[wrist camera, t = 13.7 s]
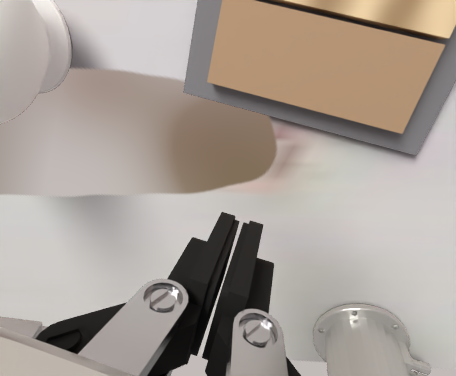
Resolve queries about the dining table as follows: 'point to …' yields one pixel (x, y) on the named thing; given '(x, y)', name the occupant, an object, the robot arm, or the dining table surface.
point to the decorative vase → (30, 53)
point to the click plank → (391, 14)
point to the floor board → (312, 116)
